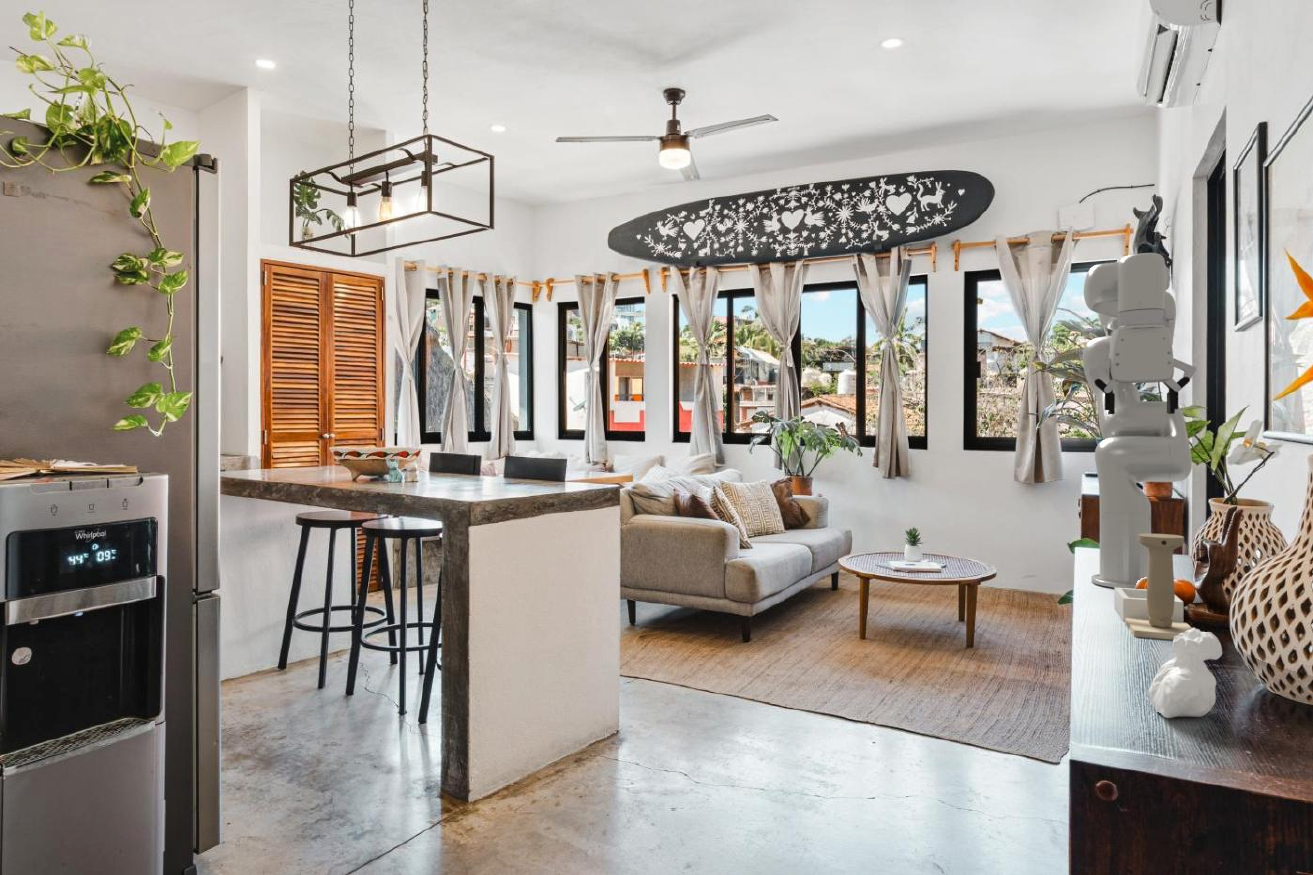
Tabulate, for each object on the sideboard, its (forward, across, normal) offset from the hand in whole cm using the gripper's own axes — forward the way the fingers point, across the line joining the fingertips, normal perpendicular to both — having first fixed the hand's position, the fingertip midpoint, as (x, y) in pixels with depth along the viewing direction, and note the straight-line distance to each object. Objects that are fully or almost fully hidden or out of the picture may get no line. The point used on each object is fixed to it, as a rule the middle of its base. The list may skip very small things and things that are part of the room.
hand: (1140, 414), depth 151 cm
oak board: (+36, 0, +18) cm, 41 cm away
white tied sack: (+36, +5, +60) cm, 70 cm away
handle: (+36, 0, +18) cm, 40 cm away
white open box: (+36, 0, +7) cm, 37 cm away
